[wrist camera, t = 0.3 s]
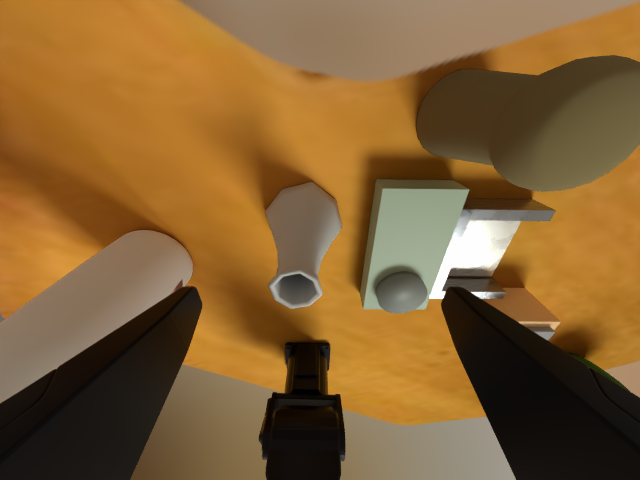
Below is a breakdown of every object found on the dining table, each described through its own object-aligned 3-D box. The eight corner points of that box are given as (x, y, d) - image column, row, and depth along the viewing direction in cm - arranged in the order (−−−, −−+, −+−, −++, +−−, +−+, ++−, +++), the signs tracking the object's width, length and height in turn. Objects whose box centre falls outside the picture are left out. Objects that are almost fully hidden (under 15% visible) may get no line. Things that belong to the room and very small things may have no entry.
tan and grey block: (502, 320, 31) (535, 361, 26) (469, 320, 31) (496, 360, 26) (524, 287, 28) (566, 326, 23) (486, 287, 28) (521, 326, 23)
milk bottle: (103, 234, 23) (-463, 593, 6) (172, 220, 23) (-266, 590, 6) (147, 288, 27) (-131, 599, 10) (207, 279, 27) (12, 597, 10)
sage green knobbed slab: (417, 293, 28) (428, 316, 25) (359, 293, 28) (364, 316, 25) (454, 180, 21) (476, 193, 18) (376, 179, 20) (385, 193, 18)
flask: (315, 166, 20) (312, 217, 11) (354, 228, 23) (374, 303, 15) (252, 207, 22) (209, 276, 14) (295, 258, 25) (284, 340, 17)
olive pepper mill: (443, 171, 20) (550, 235, 11) (400, 120, 18) (486, 145, 9) (511, 112, 18) (724, 129, 8) (471, 45, 16) (694, -31, 6)
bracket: (488, 283, 27) (502, 298, 25) (420, 282, 27) (429, 298, 25) (532, 199, 22) (556, 210, 19) (447, 198, 21) (462, 209, 19)
